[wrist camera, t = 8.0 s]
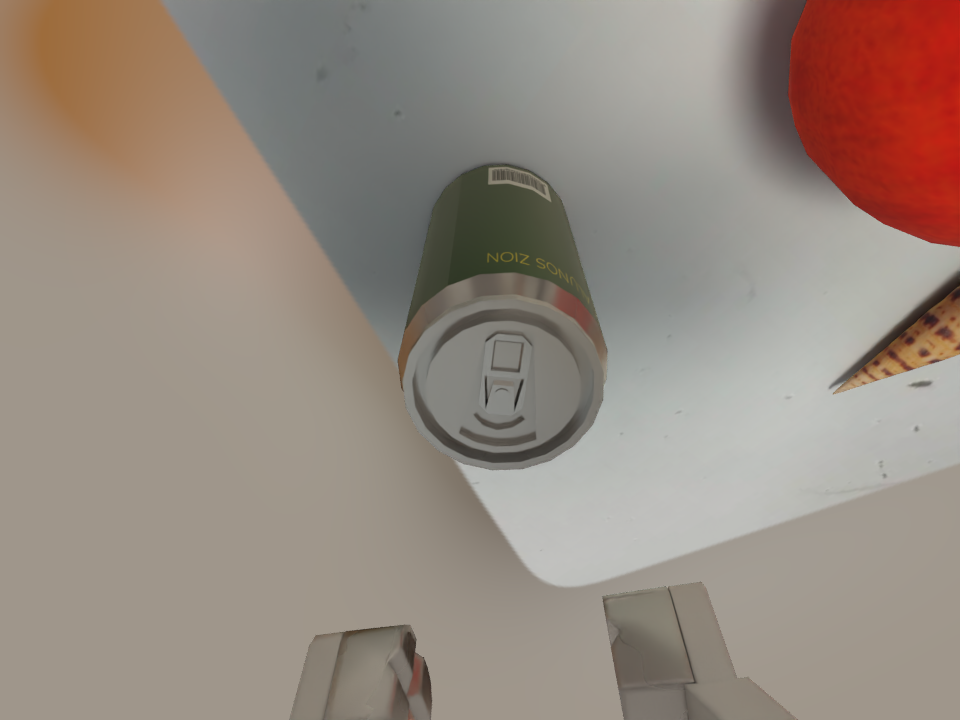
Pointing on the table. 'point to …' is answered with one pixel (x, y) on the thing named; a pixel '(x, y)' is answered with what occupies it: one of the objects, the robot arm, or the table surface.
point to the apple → (884, 107)
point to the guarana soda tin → (501, 326)
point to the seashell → (916, 344)
